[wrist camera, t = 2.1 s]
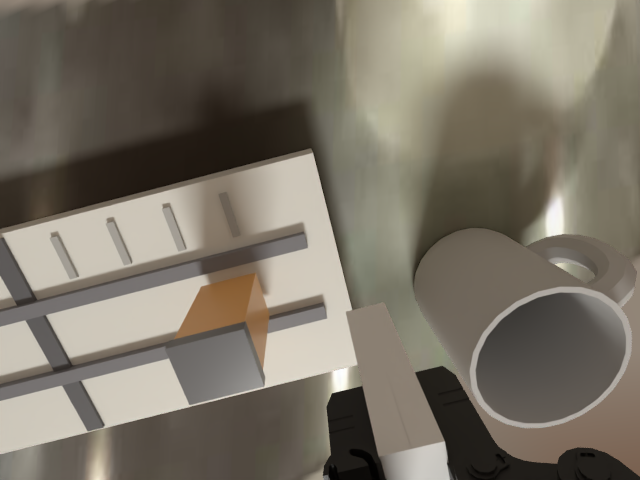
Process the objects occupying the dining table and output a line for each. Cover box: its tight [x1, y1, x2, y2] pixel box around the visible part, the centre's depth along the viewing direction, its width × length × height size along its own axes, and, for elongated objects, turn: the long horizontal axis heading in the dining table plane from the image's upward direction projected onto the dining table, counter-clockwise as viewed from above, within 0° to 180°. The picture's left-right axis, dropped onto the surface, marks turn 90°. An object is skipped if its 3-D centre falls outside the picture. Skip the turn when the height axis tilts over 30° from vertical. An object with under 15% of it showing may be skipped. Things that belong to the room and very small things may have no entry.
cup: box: [414, 228, 637, 428], centre depth 21 cm, size 7×10×9 cm
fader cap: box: [165, 273, 270, 405], centre depth 19 cm, size 3×3×6 cm
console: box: [0, 148, 358, 454], centre depth 23 cm, size 24×13×3 cm, turn 104°
